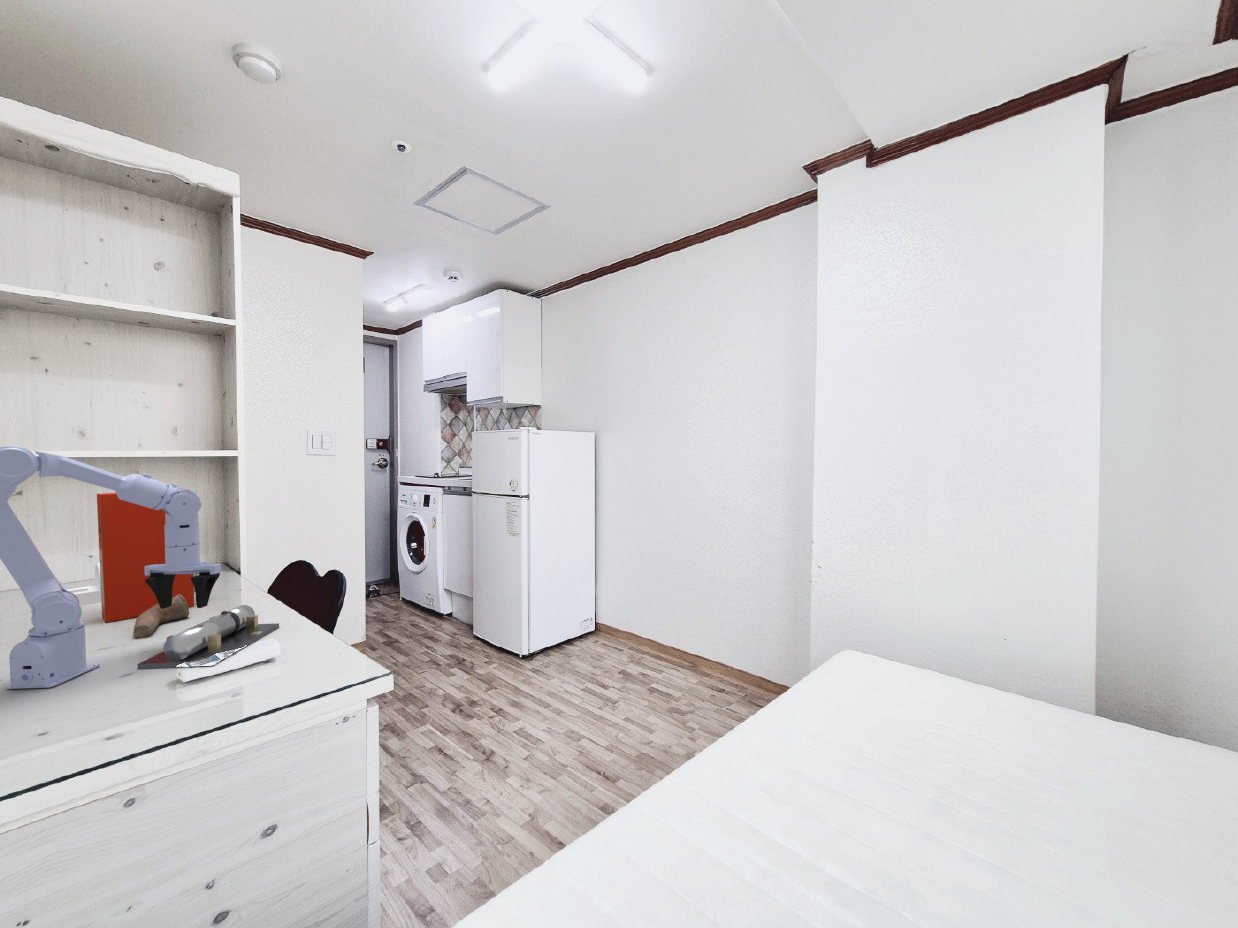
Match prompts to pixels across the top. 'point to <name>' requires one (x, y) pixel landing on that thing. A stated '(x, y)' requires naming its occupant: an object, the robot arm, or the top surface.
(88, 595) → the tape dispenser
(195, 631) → the silver long rounded block
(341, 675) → the top surface
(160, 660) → the grey plate with pegs
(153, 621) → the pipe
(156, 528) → the file binder
